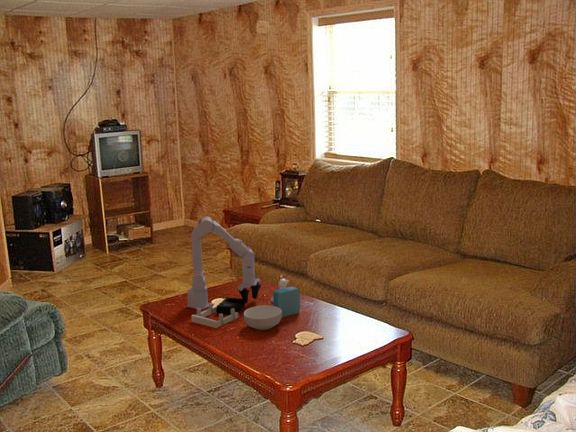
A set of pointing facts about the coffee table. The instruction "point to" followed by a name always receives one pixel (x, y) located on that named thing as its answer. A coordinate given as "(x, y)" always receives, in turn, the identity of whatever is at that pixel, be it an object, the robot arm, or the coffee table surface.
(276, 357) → the coffee table surface
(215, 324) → the dock
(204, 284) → the robot arm
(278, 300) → the teal box
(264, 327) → the cereal bowl
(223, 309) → the battery charger
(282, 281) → the white creature statuette
